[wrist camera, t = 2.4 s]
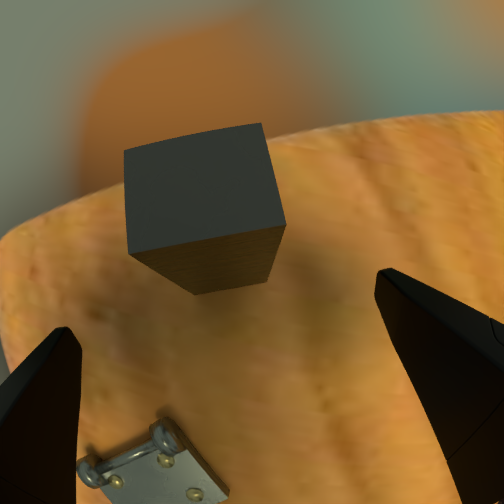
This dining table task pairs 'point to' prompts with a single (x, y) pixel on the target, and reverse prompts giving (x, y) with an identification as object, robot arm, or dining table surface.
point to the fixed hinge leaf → (155, 471)
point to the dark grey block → (204, 208)
